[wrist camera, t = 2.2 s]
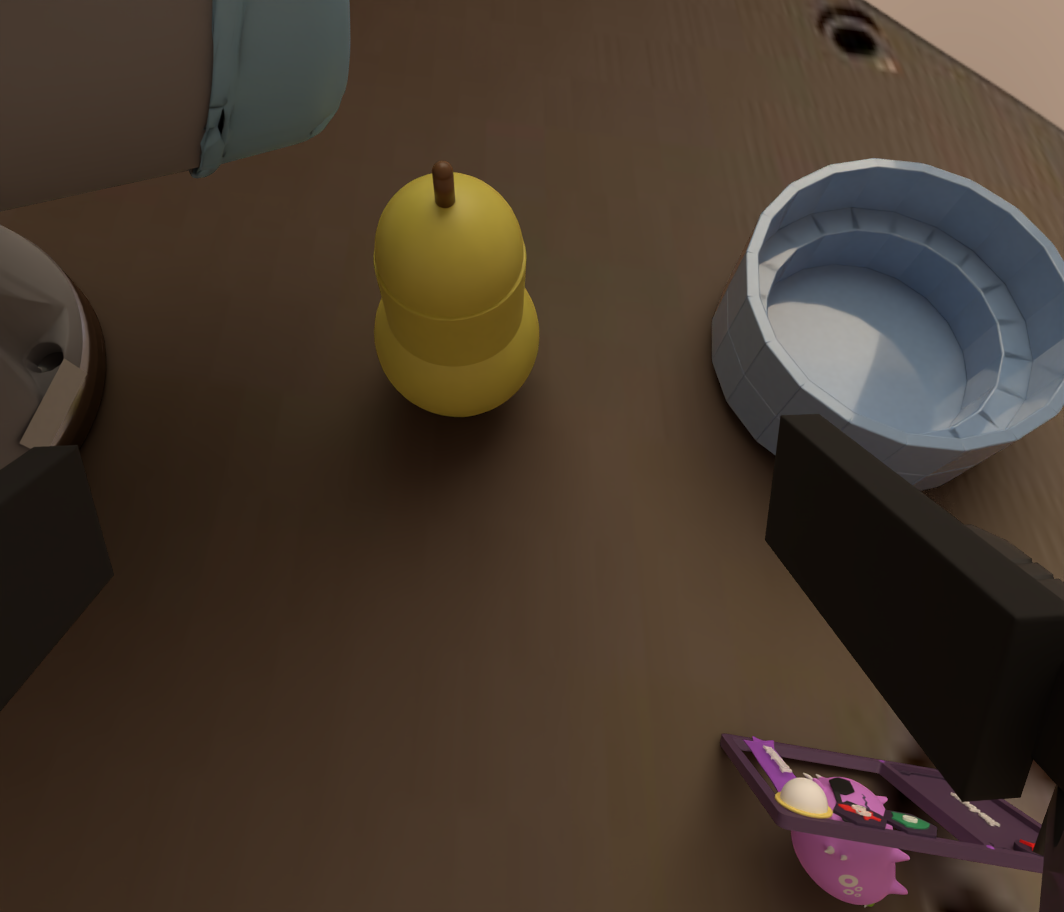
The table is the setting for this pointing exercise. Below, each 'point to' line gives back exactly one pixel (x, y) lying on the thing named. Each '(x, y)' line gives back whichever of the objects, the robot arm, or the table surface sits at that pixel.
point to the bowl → (895, 317)
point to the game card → (877, 819)
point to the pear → (453, 295)
